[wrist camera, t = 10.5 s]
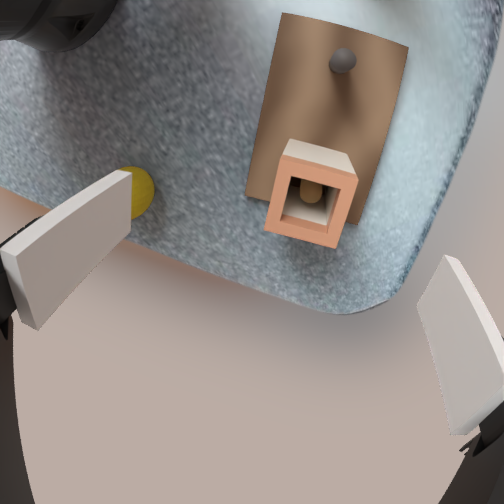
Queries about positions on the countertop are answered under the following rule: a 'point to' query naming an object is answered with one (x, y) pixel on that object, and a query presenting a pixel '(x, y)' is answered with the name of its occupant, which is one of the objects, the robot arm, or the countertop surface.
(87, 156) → the countertop surface
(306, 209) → the sleeve
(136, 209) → the lemon
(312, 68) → the pin board
